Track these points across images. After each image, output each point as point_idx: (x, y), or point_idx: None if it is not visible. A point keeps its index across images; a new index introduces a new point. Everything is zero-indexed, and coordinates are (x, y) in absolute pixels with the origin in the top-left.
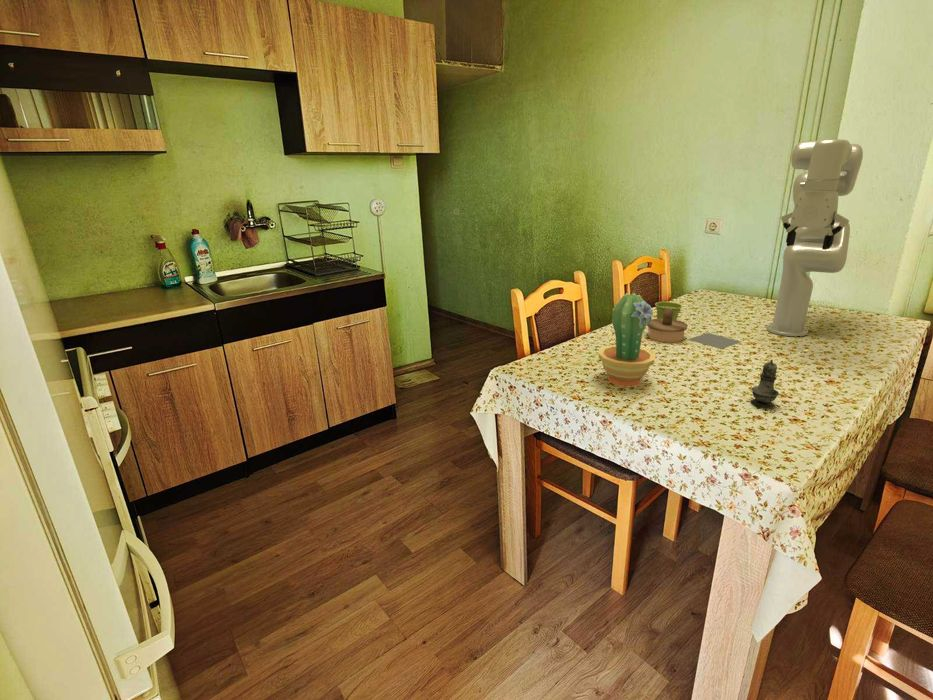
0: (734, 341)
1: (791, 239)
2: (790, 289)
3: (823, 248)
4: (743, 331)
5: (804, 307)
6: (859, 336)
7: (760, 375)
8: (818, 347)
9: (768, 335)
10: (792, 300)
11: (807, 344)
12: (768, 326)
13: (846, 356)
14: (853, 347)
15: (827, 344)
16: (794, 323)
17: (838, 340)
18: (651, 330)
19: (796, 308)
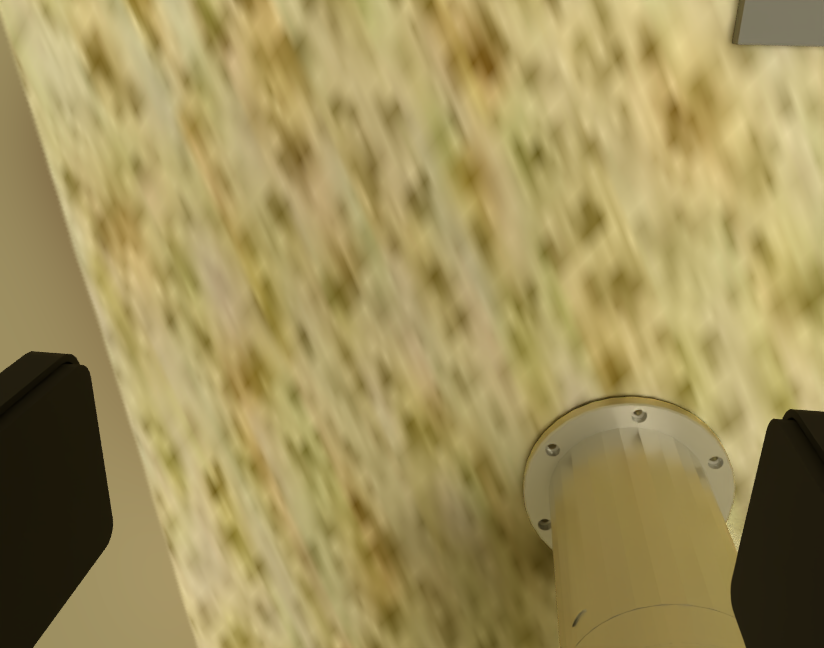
0: (778, 7)
1: (807, 549)
2: (682, 615)
3: (50, 356)
4: (819, 321)
5: (564, 569)
6: (357, 627)
7: None
8: (403, 336)
9: (673, 351)
10: (637, 558)
11: (460, 345)
12: (722, 465)
13: (259, 294)
14: (302, 453)
15: (396, 416)
16: (582, 474)
17: (390, 511)
18: None
19: (597, 531)
